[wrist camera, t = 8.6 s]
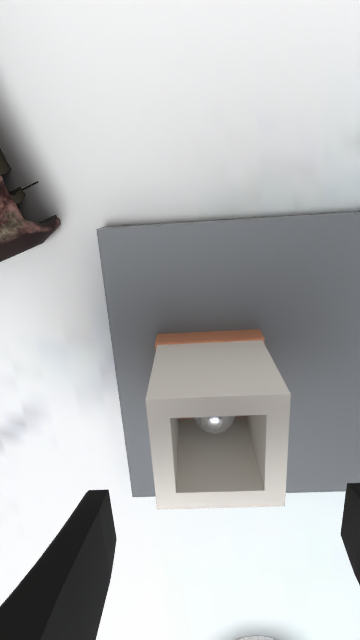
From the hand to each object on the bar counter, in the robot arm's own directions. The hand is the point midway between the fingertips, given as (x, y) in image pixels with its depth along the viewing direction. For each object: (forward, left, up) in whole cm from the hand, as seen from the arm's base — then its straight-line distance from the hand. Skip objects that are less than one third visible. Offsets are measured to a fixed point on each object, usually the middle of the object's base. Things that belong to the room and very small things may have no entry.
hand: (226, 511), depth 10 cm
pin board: (-6, 0, -10) cm, 12 cm away
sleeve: (0, 0, -8) cm, 8 cm away
